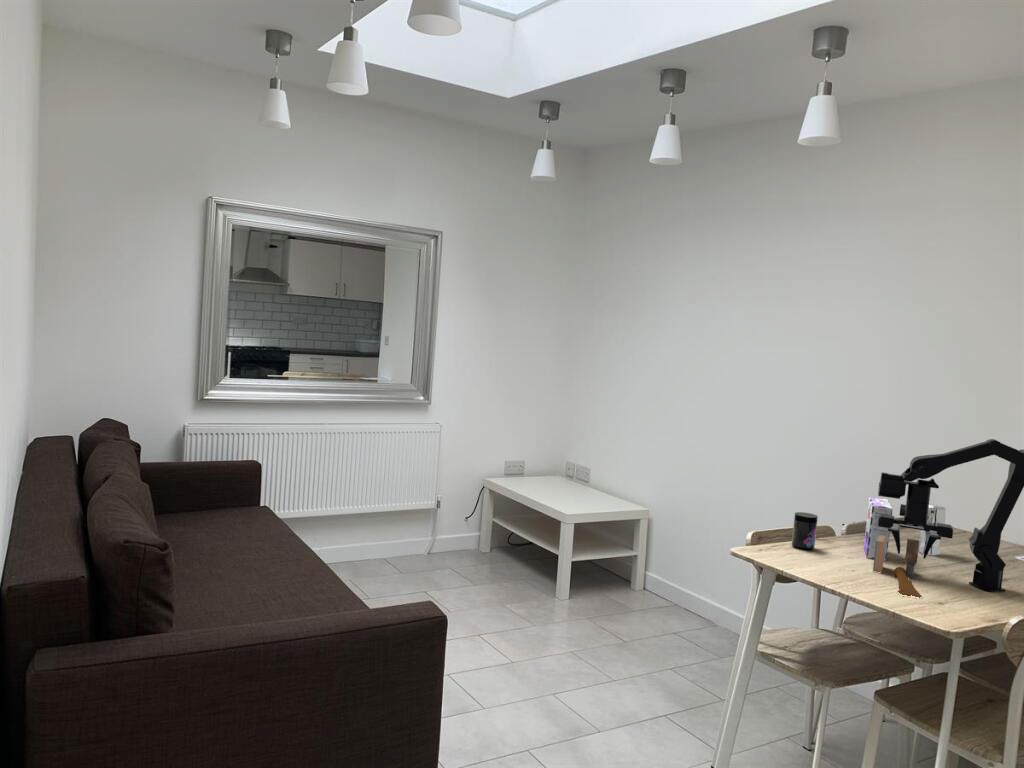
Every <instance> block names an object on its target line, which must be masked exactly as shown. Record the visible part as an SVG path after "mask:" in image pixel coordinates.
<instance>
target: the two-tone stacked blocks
mask: <svg viewBox="0 0 1024 768" xmlns="http://www.w3.org/2000/svg"><path fill="white" fill-rule="evenodd" d="M919 545H920V540H919V539H913V538H906V549H905V550H906V551H905V558H904V562H906V566H905V570H906V572H907V578H909V580H912V579H913V580H914V574H915V564H917V563H918V555H919V552H918V548H919Z"/></svg>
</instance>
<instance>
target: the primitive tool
mask: <svg viewBox="0 0 1024 768" xmlns="http://www.w3.org/2000/svg"><path fill="white" fill-rule="evenodd" d="M892 575H893V577H894V576H895V577H894V578H896V577H897V578H896V579H897V581H898V589H899V590H897V593H898V592H899V593H900V594H902V595H907V596H911V595H912V596H915V597H919V598H920V597H922V598H923V596H922V595H921V594H920V592H919V591H918V590H917V589H916V588H915V586H914V585H913V584H912V581H911V580H910V579H908V578H907V572H906V568H904V567H903V566H902V567H901V566H897V567H895V568H894V569H893V571H892ZM899 593H898V594H899Z"/></svg>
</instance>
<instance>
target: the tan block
mask: <svg viewBox="0 0 1024 768" xmlns="http://www.w3.org/2000/svg"><path fill="white" fill-rule="evenodd" d="M885 545H886V536H880V535H879V536H878V537H877V540H876V547H875V556H874V559H873V567H872V571H873V572H874V571H876V572H875V573H877V572H881V573H880V574H882V573H883V569H884V562H885V561H884V554H885Z"/></svg>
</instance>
